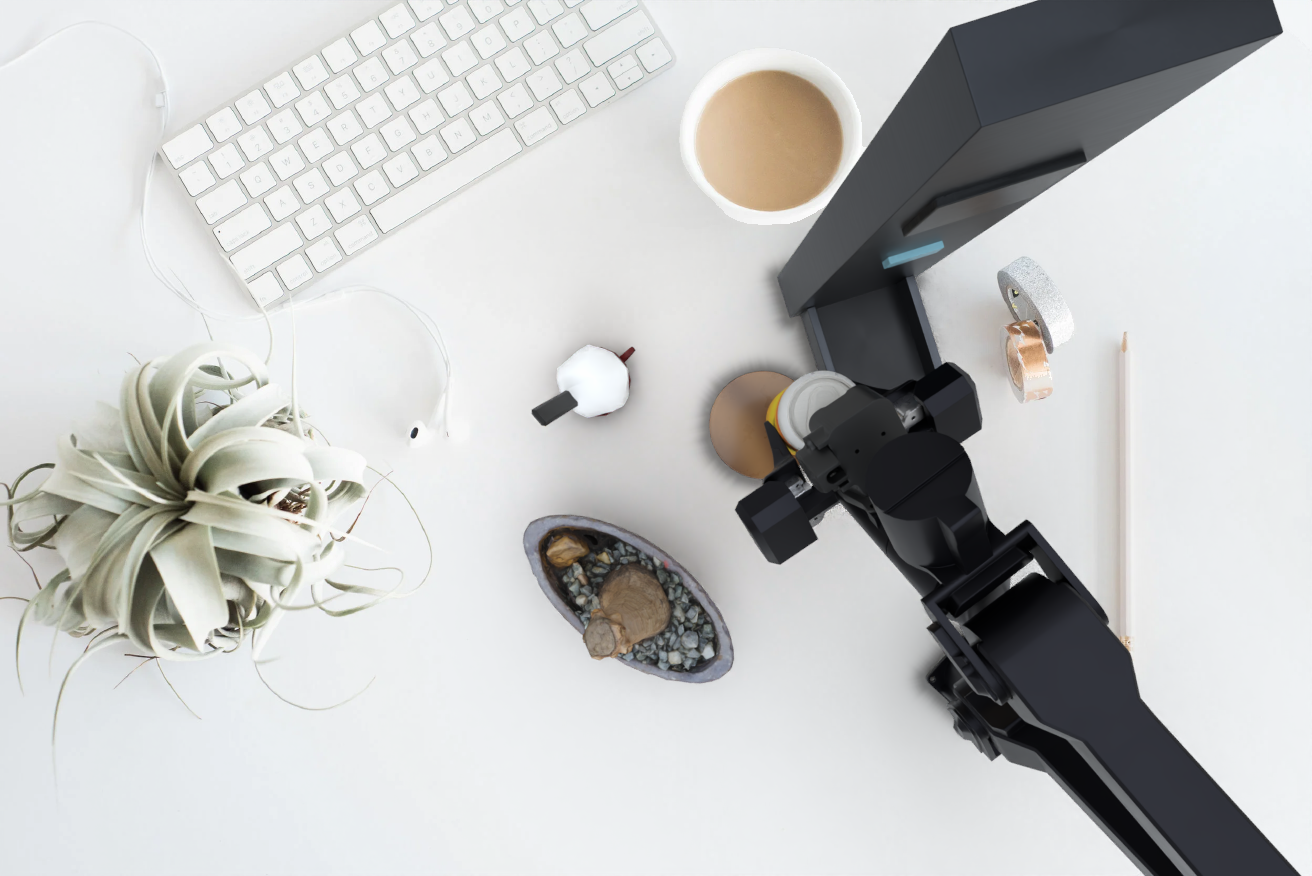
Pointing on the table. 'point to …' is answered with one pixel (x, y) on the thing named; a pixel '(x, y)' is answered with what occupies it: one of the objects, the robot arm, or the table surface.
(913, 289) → the dispenser
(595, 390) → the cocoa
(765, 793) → the table surface
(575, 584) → the planter
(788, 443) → the beer can
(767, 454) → the cork coaster
